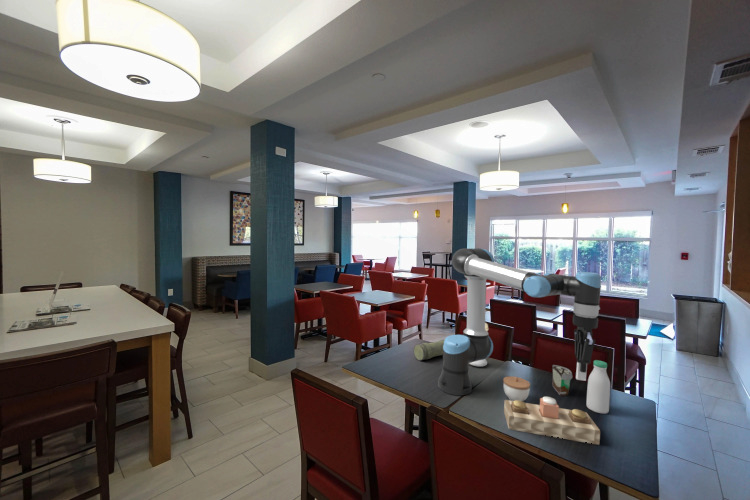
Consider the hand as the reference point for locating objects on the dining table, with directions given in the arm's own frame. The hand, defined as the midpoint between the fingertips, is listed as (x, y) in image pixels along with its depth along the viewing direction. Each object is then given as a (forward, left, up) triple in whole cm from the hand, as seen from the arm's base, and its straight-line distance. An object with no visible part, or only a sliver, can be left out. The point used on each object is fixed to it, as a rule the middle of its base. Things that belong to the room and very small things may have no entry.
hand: (580, 379), depth 115 cm
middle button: (-10, 0, -15) cm, 18 cm away
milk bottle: (+14, +21, -20) cm, 32 cm away
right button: (0, 0, -18) cm, 18 cm away
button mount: (-10, 0, -20) cm, 22 cm away
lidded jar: (-18, +19, -20) cm, 33 cm away
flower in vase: (-32, +53, -20) cm, 65 cm away
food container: (+5, +34, -20) cm, 40 cm away
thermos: (-64, +48, -15) cm, 81 cm away
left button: (-20, 0, -18) cm, 27 cm away
